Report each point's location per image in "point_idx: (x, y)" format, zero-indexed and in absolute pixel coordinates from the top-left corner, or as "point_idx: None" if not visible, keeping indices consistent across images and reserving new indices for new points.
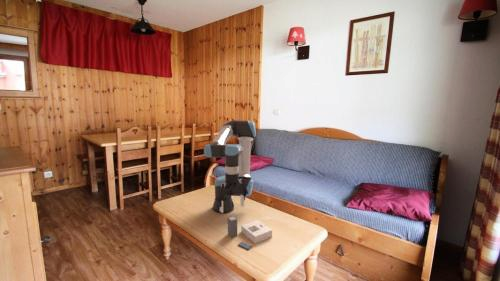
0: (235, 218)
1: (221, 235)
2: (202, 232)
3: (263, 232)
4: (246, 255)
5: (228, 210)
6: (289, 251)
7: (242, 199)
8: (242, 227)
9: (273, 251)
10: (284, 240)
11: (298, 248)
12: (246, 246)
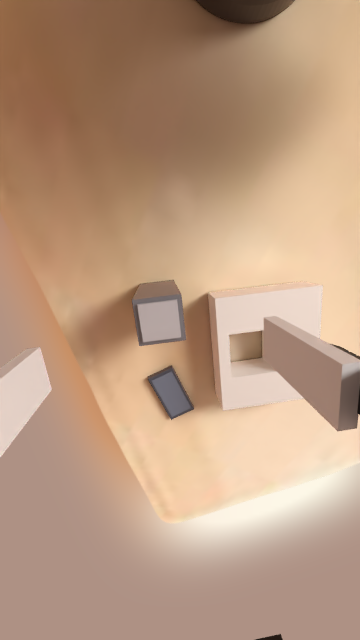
0: (178, 331)
1: (109, 275)
2: (19, 197)
3: (272, 398)
4: (153, 435)
5: (252, 9)
6: (290, 468)
7: (304, 387)
8: (214, 309)
9: (246, 450)
10: (320, 416)
11: (324, 466)
12: (173, 403)
